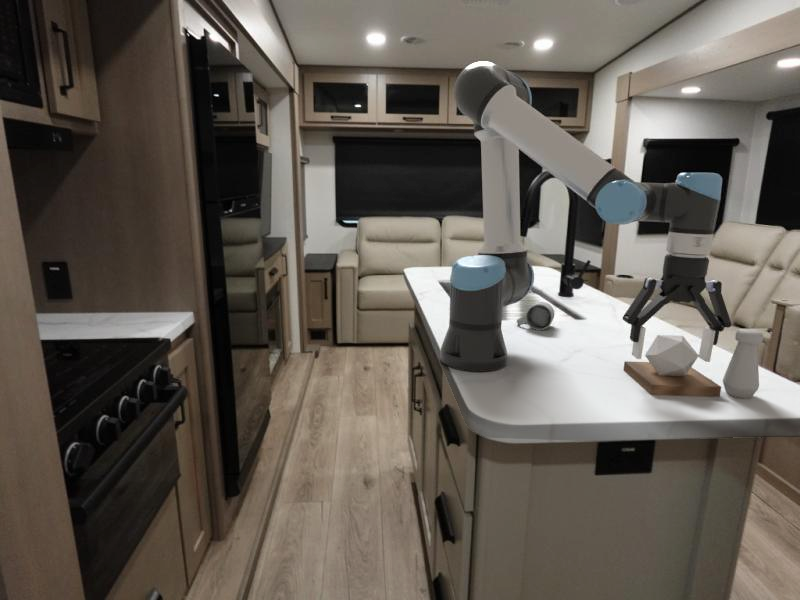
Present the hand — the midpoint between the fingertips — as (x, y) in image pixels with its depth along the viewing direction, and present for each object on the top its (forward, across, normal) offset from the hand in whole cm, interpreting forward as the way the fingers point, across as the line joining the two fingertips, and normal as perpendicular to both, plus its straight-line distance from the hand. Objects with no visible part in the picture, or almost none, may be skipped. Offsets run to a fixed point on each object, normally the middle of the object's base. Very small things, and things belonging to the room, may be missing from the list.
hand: (670, 358), depth 99 cm
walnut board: (+5, 0, 0) cm, 5 cm away
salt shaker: (+5, +11, -5) cm, 13 cm away
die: (+3, 0, 0) cm, 3 cm away
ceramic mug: (+6, -18, +40) cm, 44 cm away
